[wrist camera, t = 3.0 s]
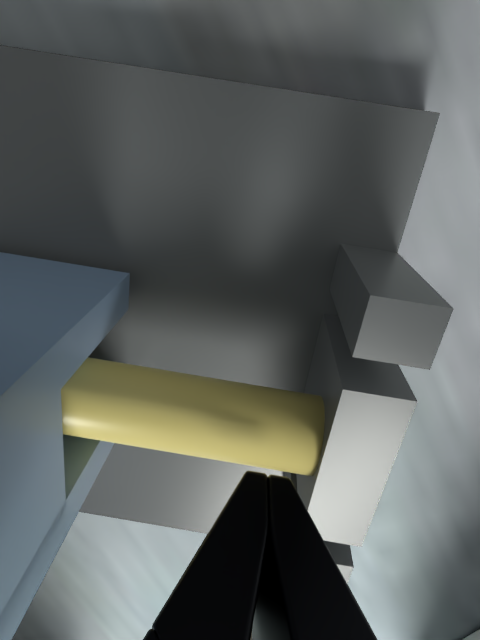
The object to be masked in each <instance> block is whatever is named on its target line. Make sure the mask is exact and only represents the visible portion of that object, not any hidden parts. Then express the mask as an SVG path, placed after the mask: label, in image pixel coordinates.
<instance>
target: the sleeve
mask: <svg viewBox="0 0 480 640" xmlns="http://www.w3.org/2000/svg"><path fill="white" fill-rule="evenodd" d="M129 281H130V273H126V272H119V271H113V270H107V269H101V268H95V267H89V266H82V265H76V264H70V263H64V262H58V261H52V260H46V259H39V258H33V257H27V256H21V255H15V254H9V253H2V252H0V640H12V638H13V636H14V634H15V632H16V630H17V628H18V627H19V625H20V623H21V621H22V619H23V617H24V615H25V613H26V611H27V609H28V607H29V606H30V604H31V602H32V600H33V598H34V596H35V594H36V592H37V590H38V588H39V586H40V585H41V583H42V581H43V579H44V577H45V575H46V573H47V571H48V569H49V567H50V565H51V564H52V562H53V560H54V558H55V556H56V554H57V552H58V550H59V548H60V546H61V545H62V543H63V541H64V539H65V537H66V535H67V533H68V531H69V529H70V527H71V525H72V524H73V522H74V520H75V518H76V516H77V514H78V512H79V510H80V508H81V506H82V504H83V503H84V501H85V499H86V497H87V495H88V493H89V491H90V489H91V487H92V485H93V483H94V482H95V480H96V478H97V476H98V474H99V472H100V470H101V468H102V466H103V464H104V462H105V461H106V459H107V457H108V455H109V453H110V451H111V449H112V447H113V445H114V443H112V442H106V441H100V440H94V439H88V438H82V437H76V436H70V435H64V434H63V427H62V405H61V388H62V387H63V386H64V385H65V384H66V383H67V381H68V380H69V379H70V378H71V377H72V375H73V374H74V373H75V372H76V371H77V369H78V368H79V367H80V366H81V365H82V364H83V362H84V361H85V360H86V359H87V358H88V356H89V355H90V354H91V353H92V352H93V351H94V349H95V348H96V347H97V346H98V345H99V343H100V342H101V341H102V340H103V339H104V338H105V336H106V335H107V334H108V333H109V332H110V330H111V329H112V328H113V327H114V326H115V324H116V323H117V322H118V321H119V320H120V319H121V317H122V316H123V315H124V314H125V313H126V311H127V310H128V309H129Z"/></svg>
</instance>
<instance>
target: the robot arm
mask: <svg viewBox="0 0 480 640" xmlns="http://www.w3.org/2000/svg"><path fill="white" fill-rule="evenodd" d="M251 632H252V635H253V636H252V637H253V638H252V639H253V640H377V638H376V636H375V635H374V633H373V631H372V629H371V627H370V625H369V623H368V622H367V620H366V618H365V616H364V614H363V612H362V610H361V609H360V607H359V605H358V603H357V601H356V599H355V597H354V596H353V594H352V592H351V590H350V588H349V586H348V585H347V583H346V581H345V579H344V577H343V575H342V573H341V572H340V570H339V568H338V566H337V564H336V562H335V560H334V559H333V557H332V555H331V553H330V551H329V549H328V547H327V546H326V544H325V542H324V540H323V538H322V536H321V535H320V533H319V531H318V529H317V527H316V525H315V523H314V522H313V520H312V518H311V516H310V514H309V512H308V510H307V509H306V507H305V505H304V503H303V501H302V499H301V497H300V496H299V494H298V492H297V490H296V488H295V486H294V484H293V483H292V481H291V479H290V478H288V477H284V476H278V475H272V474H271V475H269V476H268V477H267V475H266V474H265V473H261V472H255V471H246V472H245V473H244V475H243V477H242V478H241V480H240V482H239V483H238V485H237V487H236V488H235V490H234V491H233V493H232V495H231V496H230V498H229V500H228V501H227V503H226V505H225V506H224V508H223V510H222V511H221V513H220V514H219V516H218V518H217V519H216V521H215V523H214V524H213V526H212V528H211V529H210V531H209V533H208V534H207V536H206V538H205V539H204V541H203V542H202V544H201V546H200V547H199V549H198V551H197V552H196V554H195V556H194V557H193V559H192V561H191V562H190V564H189V566H188V567H187V569H186V570H185V572H184V574H183V575H182V577H181V579H180V580H179V582H178V584H177V585H176V587H175V589H174V590H173V592H172V594H171V595H170V597H169V598H168V600H167V602H166V603H165V605H164V607H163V608H162V610H161V612H160V613H159V615H158V617H157V618H156V620H155V621H154V623H153V625H152V629H150V630H149V631H148V632H147V634H146V636H145V637H144V639H143V640H250V638H251Z"/></svg>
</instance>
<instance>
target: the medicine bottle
mask: <svg viewBox="0 0 480 640" xmlns="http://www.w3.org/2000/svg"><path fill="white" fill-rule="evenodd" d="M462 640H480V629H479V630H477V631H476V632H474V633H472V634H471V635H469V636H467V637H465V638H464V639H462Z"/></svg>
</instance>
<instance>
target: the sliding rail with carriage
mask: <svg viewBox="0 0 480 640" xmlns="http://www.w3.org/2000/svg"><path fill="white" fill-rule="evenodd" d="M439 115H440V113H436V112H430V111H423V110H417V109H410V108H404V107H397V106H391V105H384V104H378V103H371V102H365V101H358V100H352V99H345V98H339V97H332V96H326V95H319V94H313V93H306V92H300V91H293V90H287V89H281V88H274V87H268V86H261V85H255V84H248V83H242V82H235V81H229V80H222V79H216V78H209V77H203V76H196V75H190V74H183V73H177V72H170V71H164V70H157V69H151V68H144V67H138V66H131V65H125V64H118V63H112V62H106V61H99V60H93V59H86V58H80V57H73V56H67V55H60V54H54V53H47V52H41V51H34V50H28V49H21V48H15V47H8V46H2V45H0V252H2V253H9V254H15V255H21V256H27V257H33V258H39V259H46V260H52V261H58V262H64V263H70V264H76V265H82V266H89V267H95V268H101V269H107V270H113V271H119V272H126V273H130V281H129V309H128V310H127V311H126V313H125V314H124V315H123V316H122V317H121V319H120V320H119V321H118V322H117V323H116V324H115V326H114V327H113V328H112V329H111V330H110V332H109V333H108V334H107V335H106V336H105V338H104V339H103V340H102V341H101V342H100V343H99V345H98V346H97V347H96V348H95V349H94V351H93V352H92V353H91V354H90V355H89V356H88V358H87V359H86V360H85V361H84V362H83V364H82V365H81V366H80V367H79V368H78V369H77V371H76V372H75V373H74V374H73V375H72V377H71V378H70V379H69V380H68V381H67V383H66V384H65V385H64V386H63V387H62V388H61V405H62V427H63V434H64V435H70V436H76V437H82V438H88V439H94V440H100V441H106V442H112V443H114V445H113V447H112V449H111V451H110V453H109V455H108V457H107V459H106V461H105V462H104V464H103V466H102V468H101V470H100V472H99V474H98V476H97V478H96V480H95V482H94V483H93V485H92V487H91V489H90V491H89V493H88V495H87V497H86V499H85V501H84V503H83V504H82V506H81V508H80V510H79V512H84V513H90V514H95V515H101V516H107V517H113V518H119V519H125V520H130V521H136V522H142V523H148V524H154V525H160V526H165V527H171V528H177V529H183V530H189V531H195V532H200V533H206V534H208V533H209V531H210V529H211V528H212V526H213V524H214V523H215V521H216V519H217V518H218V516H219V514H220V513H221V511H222V510H223V508H224V506H225V505H226V503H227V501H228V500H229V498H230V496H231V495H232V493H233V491H234V490H235V488H236V487H237V485H238V483H239V482H240V480H241V478H242V477H243V475H244V473H245V472H246V471H255V472H261V473H265V474H266V475H267V477H268V476H269V475H271V474H272V475H278V476H284V477H288V478H290V479H291V481H292V483H293V484H294V486H295V488H296V490H297V492H298V494H299V496H300V497H301V499H302V501H303V503H304V505H305V507H306V509H307V510H308V512H309V514H310V516H311V518H312V520H313V522H314V523H315V525H316V527H317V529H318V531H319V533H320V535H321V536H322V538H323V540H324V542H325V544H326V546H327V547H328V549H329V551H330V553H331V555H332V557H333V559H334V560H335V562H336V564H337V566H338V568H339V570H340V572H341V573H342V575H343V577H344V579H345V581H346V583H348V580H349V578H350V575H351V573H352V570H353V561H352V555H351V550H350V545H353V546H359V547H362V544H363V542H364V539H365V536H366V534H367V531H368V529H369V526H370V523H371V521H372V518H373V516H374V513H375V511H376V508H377V505H378V503H379V500H380V498H381V495H382V492H383V490H384V487H385V485H386V482H387V479H388V477H389V474H390V472H391V469H392V467H393V464H394V461H395V459H396V456H397V454H398V451H399V448H400V446H401V443H402V441H403V438H404V435H405V433H406V430H407V428H408V425H409V422H410V420H411V417H412V415H413V412H414V410H415V407H416V404H417V400H416V398H415V396H414V394H413V392H412V390H411V388H410V386H409V384H408V383H407V381H406V379H405V377H404V375H403V373H402V371H401V369H400V367H399V365H404V366H410V367H416V368H422V369H429V370H430V368H431V366H432V363H433V360H434V358H435V355H436V353H437V350H438V347H439V345H440V342H441V340H442V337H443V334H444V332H445V329H446V327H447V324H448V322H449V319H450V316H451V314H452V311H453V308H452V307H451V306H450V305H449V304H448V303H447V302H446V301H445V300H444V299H443V298H442V297H441V296H440V295H439V294H438V293H437V292H436V291H435V290H434V289H433V288H432V287H431V286H430V285H429V284H428V283H427V282H426V281H425V280H424V279H423V278H422V277H421V276H420V275H419V274H418V273H417V272H416V271H415V270H414V269H413V268H412V267H411V266H410V265H409V264H408V263H407V262H406V261H405V260H404V259H403V258H402V257H401V256H400V255H399V254H398V253H397V252H398V248H399V245H400V242H401V239H402V235H403V232H404V229H405V226H406V222H407V219H408V216H409V212H410V209H411V206H412V203H413V199H414V196H415V193H416V190H417V186H418V183H419V180H420V177H421V173H422V170H423V167H424V164H425V160H426V157H427V154H428V150H429V147H430V144H431V141H432V137H433V134H434V131H435V128H436V124H437V121H438V118H439Z"/></svg>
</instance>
